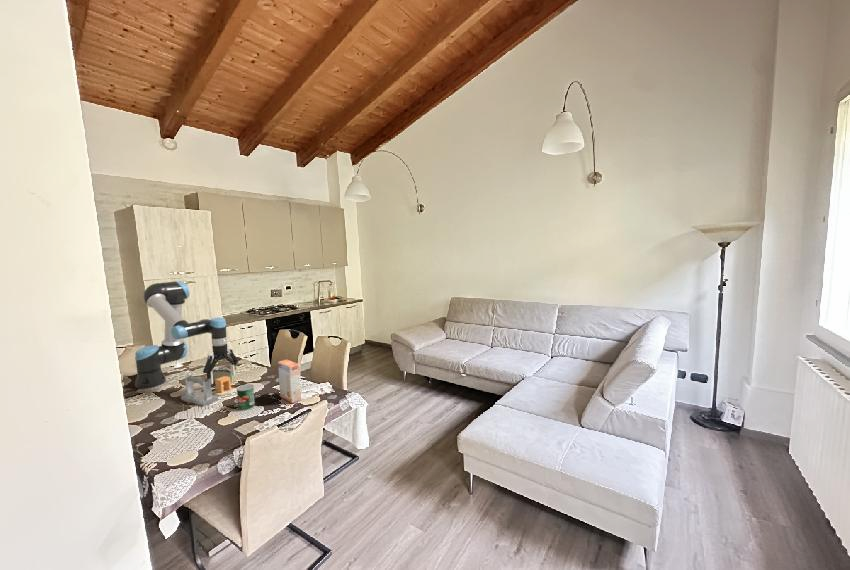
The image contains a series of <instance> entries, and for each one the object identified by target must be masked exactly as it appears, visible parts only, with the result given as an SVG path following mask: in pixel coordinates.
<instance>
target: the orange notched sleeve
mask: <svg viewBox="0 0 850 570" xmlns="http://www.w3.org/2000/svg"><path fill="white" fill-rule="evenodd" d="M214 384H215V390H216V392H219V393H224V390H223V387H224V389H227V390H231V387H232V381H231V379H230V377H227V376H223V377H221V378H218V379H214ZM223 384H224V385H223Z"/></svg>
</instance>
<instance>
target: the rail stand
mask: <svg viewBox="0 0 850 570" xmlns="http://www.w3.org/2000/svg"><path fill="white" fill-rule="evenodd" d="M184 383H185V391H186V393H184V394H182V395H180V400H181V401H184V402H188V403H191V404H195V405H197V406H201V407H205V406H208V405H210V404H213V403H216V402H217V401H219V396H218V395H214V394H212V391H213V390H212V384H211V380H209V379H205V378H201V377H197V376H193V375H187V376H185V377H184ZM194 383H196V384H200V385H202V388H203V391H200V390H198V389H197V390H196V389H195V388H194Z"/></svg>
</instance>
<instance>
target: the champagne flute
mask: <svg viewBox="0 0 850 570" xmlns="http://www.w3.org/2000/svg"><path fill="white" fill-rule="evenodd" d="M173 366H174V367H173ZM173 366H171V367H172V369H177V368H181V367H182V368H183V366H184V364H182V363H179V360H177V361H175V364H174V365H173Z"/></svg>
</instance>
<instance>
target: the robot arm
mask: <svg viewBox="0 0 850 570" xmlns="http://www.w3.org/2000/svg"><path fill="white" fill-rule="evenodd" d="M190 294H191V293H190V289H189V287H188V285H187V284H186V283H185V282H184V281H181V280H180V281H176V280H174V281H168V282H157V283H153V284H151V285H149V286H148V287H146V289H144V292H143V301H144V303H145V304H146V306H148V307H149V308H152V309H153V310H154V311H155V312H156V313H157V314H158V315H159V316H160V317H161V318H162V319H163V320H164V339H163V340H162V341H161V345H157V344H152V345H147V346H144V347H141V348H139V349H138V350H136V352H135V353H134V354H135V356H134V357H135V358H134V359H135V366H136V374H137V376H136V378H135V381H134V382H135V383H134V386H135V388H136V389H141V390H142V389H149V388H153V387H157V386H160V385H162V384H164V383H166V381H167V379H166V376H165V374H164V372H163V371H162V367H161V366H162V365H165V364H168V363H172V362H176V361H177V360H178V361H179V360H182V359H184V358H185V357H186V356H187V354H188V344H187V343H186V342H185V341H184V339H187V338H191V337H195V336H199V335H203V334H211V345H212V346H211V348H212V352H213V353H212V354H211V355H210V354H209V355H207V360H206V363H205V366H204V368H203V371H202V374H206V378H207V380H211V385H213V384H214V374H213V372H212V370H213V369H215V368H216V367H215V366H216V365H217V364H218V362H219V361H222V360H226V361H228V362H229V363H230V365H229V366H230V368H231V375H232V377H233V376H236V372H235V371H236V365H237V364H238V363H239V360H238V358H237V357H236V355H235V354H234V352H233V351H234V350H233V349H232V348H229V347H228V336H227V321H226V319H225V318H224V317H213V318H211V319H208V318H203V319H202V318H201V319H200V320H198V321H194V322H188V321H187V320H186V319H185V318H184V317H183V316H182V315H183V314H182V313H183V311H182V309H183V305H184V304H185V302H186V300H187V299H189V297H190ZM228 355H229V356H228Z"/></svg>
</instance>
